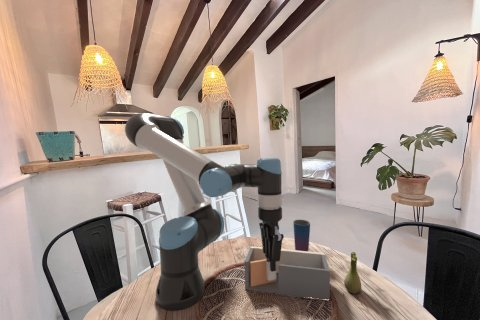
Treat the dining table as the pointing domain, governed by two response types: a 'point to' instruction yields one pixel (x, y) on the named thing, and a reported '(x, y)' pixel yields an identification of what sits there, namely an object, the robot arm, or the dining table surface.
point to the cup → (301, 234)
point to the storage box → (294, 274)
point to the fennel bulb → (353, 277)
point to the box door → (259, 273)
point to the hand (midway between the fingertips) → (271, 278)
